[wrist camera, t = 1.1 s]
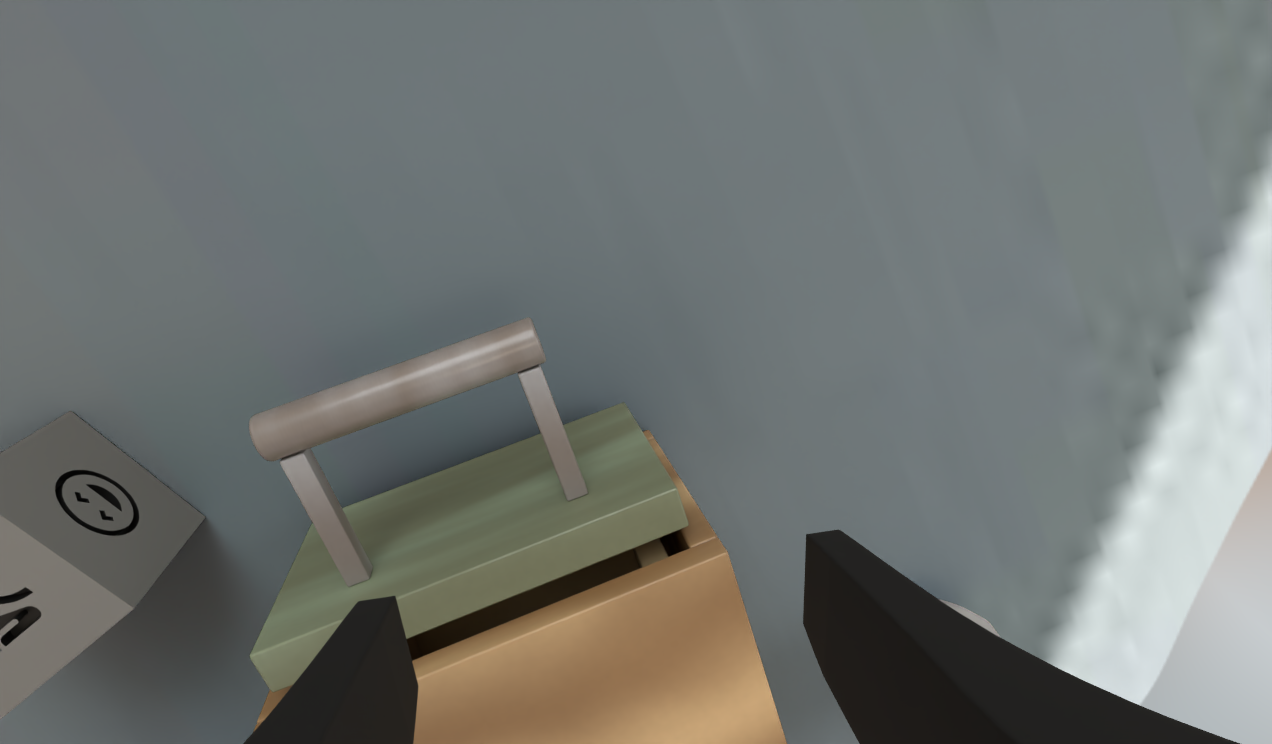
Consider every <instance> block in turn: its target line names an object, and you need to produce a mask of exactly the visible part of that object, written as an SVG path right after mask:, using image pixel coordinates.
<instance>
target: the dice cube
mask: <svg viewBox="0 0 1272 744" xmlns="http://www.w3.org/2000/svg"><path fill="white" fill-rule="evenodd" d="M204 519H205V516H204V515H202V514H201V513H200V512H199V511H197V510H196V509H195V508H193V507H192V506H191V505H190V504H188V503H187V502H186V501H185V500H183V499H182V498H181V497H180V496H178V495H177V494H176V493H174V492H173V491H172V490H171V489H169V488H168V487H167V486H166V485H164V484H163V483H162V482H160V481H159V480H158V479H157V478H155V477H154V476H153V475H152V474H150V473H149V472H148V471H146V470H145V469H144V468H143V467H141V466H140V465H139V464H138V463H136V462H135V461H134V460H133V459H131V458H130V457H129V456H127V455H126V454H125V453H124V452H122V451H121V450H120V449H119V448H117V447H116V446H115V445H113V444H112V443H111V442H110V441H108V440H107V439H106V438H105V437H103V436H102V435H101V434H99V433H98V432H97V431H96V430H94V429H93V428H92V427H91V426H89V425H88V424H87V423H86V422H84V421H83V420H82V419H80V418H79V417H78V416H77V415H75V414H74V413H73V412H72V411H69V412H68V413H66V414H64V415H63V416H61V417H59V418H58V419H56V420H54V421H53V422H51V423H49V424H48V425H46V426H44V427H43V428H41V429H39V430H38V431H36V432H34V433H33V434H31V435H29V436H28V437H26V438H24V439H23V440H21V441H19V442H18V443H16V444H14V445H13V446H11V447H9V448H8V449H6V450H4V451H3V452H1V453H0V719H2V718H3V717H4V716H5V715H6V714H8V713H9V712H10V711H11V710H12V709H14V708H15V707H16V706H17V705H19V704H20V703H21V702H22V701H23V700H25V699H26V698H27V697H28V696H29V695H31V694H32V693H33V692H34V691H35V690H37V689H38V688H39V687H40V686H41V685H43V684H44V683H45V682H46V681H47V680H49V679H50V678H51V677H52V676H53V675H55V674H56V673H57V672H58V671H59V670H61V669H62V668H63V667H64V666H65V665H67V664H68V663H69V662H70V661H72V660H73V659H74V658H75V657H76V656H78V655H79V654H80V653H81V652H82V651H84V650H85V649H86V648H87V647H88V646H90V645H91V644H92V643H93V642H94V641H96V640H97V639H98V638H99V637H100V636H102V635H103V634H104V633H105V632H106V631H108V630H109V629H110V628H111V627H112V626H114V625H115V624H116V623H117V622H119V621H120V620H121V619H122V618H123V617H125V616H126V615H127V614H128V613H129V612H131V611H132V610H133V609H134V608H135V607H136V606H137V604H138V603H139V602H140V600H141V599H142V598H143V597H144V595H145V594H146V593H147V591H148V590H149V589H150V588H151V586H152V585H153V584H154V582H155V581H156V580H157V579H158V577H159V576H160V575H161V574H162V572H163V571H164V570H165V568H166V567H167V566H168V565H169V563H170V562H171V561H172V559H173V558H174V557H175V556H176V554H177V553H178V552H179V550H180V549H181V548H182V547H183V545H184V544H185V543H186V542H187V540H188V539H189V538H190V536H191V535H192V534H193V533H194V531H195V530H196V529H197V527H198V526H199V525H200V524H201V522H202V521H203V520H204Z"/></svg>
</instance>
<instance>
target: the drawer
mask: <svg viewBox="0 0 1272 744" xmlns="http://www.w3.org/2000/svg"><path fill="white" fill-rule="evenodd" d="M545 361H546V356H545V354H544V351H543V348H542V345H541V343H540V340H539V337H538V335H537V332H536V329H535V327H534V324H533V322H532V319H531V318H525V319H522V320H519V321H516V322H513V323H511V324H508V325H505V326H502V327H499V328H497V329H494V330H491V331H488V332H485V333H483V334H480V335H477V336H474V337H471V338H469V339H466V340H463V341H460V342H457V343H454V344H452V345H449V346H446V347H443V348H440V349H438V350H435V351H432V352H429V353H426V354H424V355H421V356H418V357H415V358H412V359H410V360H407V361H404V362H401V363H398V364H396V365H393V366H390V367H387V368H384V369H381V370H379V371H376V372H373V373H370V374H367V375H365V376H362V377H359V378H356V379H353V380H351V381H348V382H345V383H342V384H339V385H337V386H334V387H331V388H328V389H325V390H323V391H320V392H317V393H314V394H311V395H308V396H306V397H303V398H300V399H297V400H294V401H292V402H289V403H286V404H283V405H280V406H278V407H275V408H272V409H269V410H266V411H264V412H261V413H258V414H255V415H254V416H252V417H251V419H250V421H249V431H250V436H251V439H252V441H253V444H254V446H255V448H256V449H257V451H258V452H259V454H260V455H261V456H262V457H263V458H264V459H265V460H267V461H276V460H279V459H281V458H282V459H281V461H280V464H281V466H282V468H283V470H284V472H285V473H286V475H287V477H288V479H289V481H290V483H291V484H292V486H293V488H294V490H295V492H296V493H297V495H298V497H299V499H300V501H301V503H302V504H303V506H304V508H305V510H306V512H307V514H308V515H309V517H310V519H311V521H312V524H311V526H310V528H309V530H308V533H307V535H306V537H305V539H304V541H303V543H302V545H301V547H300V550H299V552H298V554H297V556H296V558H295V560H294V562H293V564H292V567H291V569H290V571H289V573H288V575H287V577H286V579H285V581H284V584H283V586H282V588H281V590H280V592H279V594H278V596H277V598H276V601H275V603H274V605H273V607H272V609H271V611H270V613H269V615H268V618H267V620H266V622H265V624H264V626H263V628H262V630H261V632H260V635H259V637H258V639H257V641H256V643H255V645H254V647H253V649H252V652H251V654H250V659H251V660H252V662H253V664H254V665H255V667H256V668H257V670H258V671H259V673H260V675H261V676H262V678H263V679H264V681H265V682H266V684H267V686H268V687H269V689H270V690H271V692H276V691H279V690H281V689H284V688H286V687H289V686H291V685H293V684H294V683H295V682H296V680H297V679H298V678H299V677H300V675H301V674H302V673H303V672H304V670H305V669H306V668H307V667H308V665H309V664H310V663H311V661H312V660H313V659H314V658H315V656H316V655H317V654H318V652H319V651H320V650H321V649H322V647H323V646H324V645H325V643H326V642H327V641H328V639H329V638H330V637H331V635H332V634H333V633H334V631H335V630H336V629H337V627H338V626H339V625H340V623H341V622H342V621H343V620H344V618H345V617H346V616H347V614H348V613H349V612H350V611H351V609H352V608H353V607H354V606H355V604H356V603H357V602H358V601H363V600H369V599H376V598H383V597H389V596H396V600H397V604H398V608H399V612H400V616H401V620H402V624H403V627H404V631H405V635H406V639H407V643H408V647H409V651H410V655H411V659H412V661H413V660H415V659H418V658H420V657H423V656H425V655H428V654H430V653H432V652H435V651H437V650H440V649H442V648H445V647H447V646H450V645H452V644H455V643H457V642H460V641H462V640H465V639H467V638H470V637H472V636H474V635H477V634H479V633H482V632H484V631H487V630H489V629H492V628H494V627H497V626H499V625H502V624H504V623H507V622H509V621H511V620H514V619H516V618H519V617H521V616H524V615H526V614H529V613H531V612H534V611H536V610H539V609H541V608H544V607H546V606H549V605H551V604H553V603H556V602H558V601H561V600H563V599H566V598H568V597H571V596H573V595H576V594H578V593H581V592H583V591H586V590H588V589H591V588H593V587H595V586H598V585H600V584H603V583H605V582H608V581H610V580H613V579H615V578H618V577H620V576H623V575H625V574H628V573H630V572H632V571H635V570H637V569H640V568H642V567H645V566H647V565H650V564H652V563H655V562H657V561H660V560H662V559H665V558H667V557H669V556H668V554H667V552H666V550H665V548H664V546H663V544H662V542H661V540H660V537H663V536H665V535H668V534H670V533H673V532H675V531H678V530H680V529H683V528H685V527H687V526H688V525H689V523H688V520H687V517H686V514H685V510H684V507H683V504H682V501H681V498H680V495H679V492H678V489H677V487H676V486H675V484H674V482H673V481H672V479H671V477H670V476H669V474H668V473H667V471H666V469H665V468H664V466H663V464H662V463H661V461H660V459H659V458H658V456H657V455H656V453H655V451H654V450H653V448H652V446H651V445H650V443H649V442H648V440H647V438H646V437H645V435H644V433H643V432H642V430H641V428H640V427H639V425H638V424H637V422H636V420H635V419H634V417H633V415H632V414H631V412H630V410H629V409H628V407H627V406H626V404H625V403H621V404H618V405H615V406H613V407H610V408H607V409H605V410H602V411H599V412H597V413H594V414H591V415H589V416H586V417H583V418H581V419H578V420H575V421H573V422H570V423H567V424H565V425H563V423H562V421H561V418H560V415H559V413H558V410H557V408H556V405H555V402H554V400H553V397H552V394H551V392H550V389H549V386H548V384H547V381H546V379H545V376H544V373H543V371H542V368H541V365H540V364H542V363H544V362H545ZM517 372H518V377H519V379H520V382H521V385H522V387H523V390H524V392H525V395H526V397H527V400H528V402H529V405H530V407H531V410H532V412H533V415H534V418H535V420H536V423H537V425H538V428H539V430H540V433H541V434H538V435H535V436H533V437H530V438H527V439H525V440H522V441H519V442H517V443H514V444H511V445H509V446H506V447H504V448H501V449H498V450H496V451H493V452H490V453H488V454H485V455H482V456H480V457H477V458H474V459H472V460H469V461H466V462H464V463H461V464H458V465H456V466H453V467H450V468H448V469H445V470H442V471H440V472H437V473H434V474H432V475H429V476H426V477H424V478H421V479H418V480H416V481H413V482H410V483H408V484H405V485H402V486H400V487H397V488H394V489H392V490H389V491H387V492H384V493H381V494H379V495H376V496H373V497H371V498H368V499H365V500H363V501H360V502H357V503H355V504H352V505H349V506H347V507H344V508H342V507H341V505H340V503H339V502H338V500H337V498H336V496H335V494H334V492H333V490H332V488H331V486H330V484H329V483H328V481H327V479H326V477H325V475H324V473H323V471H322V469H321V467H320V465H319V464H318V462H317V460H316V458H315V456H314V454H313V452H312V450H311V448H312V447H314V446H317V445H320V444H323V443H325V442H328V441H331V440H334V439H336V438H339V437H342V436H345V435H347V434H350V433H353V432H356V431H358V430H361V429H364V428H367V427H369V426H372V425H375V424H377V423H380V422H383V421H386V420H388V419H391V418H394V417H397V416H399V415H402V414H405V413H408V412H410V411H413V410H416V409H419V408H421V407H424V406H427V405H430V404H432V403H435V402H438V401H441V400H443V399H446V398H449V397H452V396H454V395H457V394H460V393H462V392H465V391H468V390H471V389H473V388H476V387H479V386H482V385H484V384H487V383H490V382H493V381H495V380H498V379H501V378H504V377H506V376H509V375H512V374H515V373H517Z"/></svg>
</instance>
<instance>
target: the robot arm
mask: <svg viewBox="0 0 1272 744" xmlns="http://www.w3.org/2000/svg"><path fill="white" fill-rule="evenodd" d="M803 624H804V627H805V629H806V632H807V635H808V637H809V640H810V643H811V645H812V648H813V651H814V653H815V656H816V658H817V661H818V663H819V666H820V668H821V671H822V673H823V676H824V678H825V680H826V681H827V683H828V685H829V687H830V689H831V691H832V693H833V695H834V697H835V699H836V700H837V702H838V704H839V706H840V708H841V710H842V712H843V714H844V715H845V717H846V719H847V721H848V723H849V725H850V727H851V728H852V730H853V732H854V734H855V736H856V738H857V740H858V741H859V743H860V744H1240V743H1237V742H1233V741H1231V740H1228V739H1225V738H1222V737H1220V736H1217V735H1214V734H1212V733H1209V732H1206V731H1203V730H1201V729H1198V728H1196V727H1193V726H1190V725H1188V724H1185V723H1182V722H1179V721H1177V720H1174V719H1172V718H1169V717H1167V716H1164V715H1161V714H1159V713H1157V712H1154V711H1152V710H1149V709H1147V708H1144V707H1142V706H1139V705H1137V704H1135V703H1132V702H1130V701H1128V700H1125V699H1123V698H1121V697H1119V696H1117V695H1114V694H1112V693H1110V692H1108V691H1105V690H1103V689H1101V688H1099V687H1096V686H1094V685H1092V684H1090V683H1087V682H1085V681H1083V680H1081V679H1079V678H1077V677H1075V676H1073V675H1071V674H1069V673H1066V672H1064V671H1062V670H1060V669H1058V668H1056V667H1054V666H1052V665H1051V664H1049V663H1047V662H1045V661H1043V660H1041V659H1039V658H1037V657H1035V656H1033V655H1032V654H1030V653H1028V652H1026V651H1024V650H1022V649H1020V648H1018V647H1016V646H1014V645H1013V644H1011V643H1009V642H1007V641H1006V640H1004V639H1002V638H1000V637H999V636H997V635H995V634H993V633H992V632H990V631H988V630H987V629H985V628H983V627H982V626H980V625H979V624H977V623H975V622H974V621H972V620H970V619H969V618H967V617H965V616H964V615H962V614H960V613H959V612H957V611H956V610H954V609H953V608H951V607H950V606H948V605H946V604H945V603H943V602H942V601H940V600H939V599H937V598H936V597H934V596H933V595H931V594H930V593H928V592H927V591H925V590H924V589H922V588H921V587H919V586H918V585H917V584H915V583H914V582H912V581H911V580H909V579H908V578H906V577H905V576H904V575H902V574H901V573H899V572H898V571H897V570H895V569H894V568H892V567H891V566H890V565H888V564H887V563H885V562H884V561H883V560H881V559H880V558H878V557H877V556H876V555H874V554H873V553H871V552H870V551H869V550H867V549H866V548H864V547H863V546H862V545H860V544H859V543H858V542H856V541H855V540H853V539H852V538H850V537H849V536H848V535H846V534H845V533H843V532H842V531H840V530H833V531H826V532H819V533H813V534H806V559H805V587H804V615H803ZM418 687H419V686H418V682H417V678H416V674H415V670H414V666H413V663H412V659H411V655H410V651H409V647H408V643H407V639H406V635H405V631H404V627H403V624H402V620H401V616H400V612H399V608H398V604H397V600H396V596H389V597H383V598H376V599H369V600H363V601H358V602H357V603H356V604H355V606H354V607H353V608H352V609H351V611H350V612H349V613H348V614H347V616H346V617H345V618H344V620H343V621H342V622H341V623H340V625H339V626H338V627H337V629H336V630H335V631H334V633H333V634H332V635H331V637H330V638H329V639H328V641H327V642H326V643H325V645H324V646H323V647H322V649H321V650H320V651H319V652H318V654H317V655H316V656H315V658H314V659H313V660H312V661H311V663H310V664H309V665H308V667H307V668H306V669H305V670H304V672H303V673H302V674H301V675H300V677H299V678H298V679H297V680H296V682H295V683H294V684H293V685H292V687H291V688H290V689H289V690H288V692H287V693H286V694H285V695H284V697H283V698H282V699H281V700H280V702H279V703H278V704H277V705H276V707H275V708H274V709H273V710H272V711H271V713H270V714H269V715H268V716H267V717H266V718H265V720H264V721H263V722H262V723H261V724H260V725H259V726H258V728H257V729H256V730H255V731H254V732H253V733H252V735H251V736H250V737H249V738H248V739H247V740H246V741H245V743H244V744H413V741H414V732H415V722H416V711H417V699H418Z"/></svg>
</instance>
